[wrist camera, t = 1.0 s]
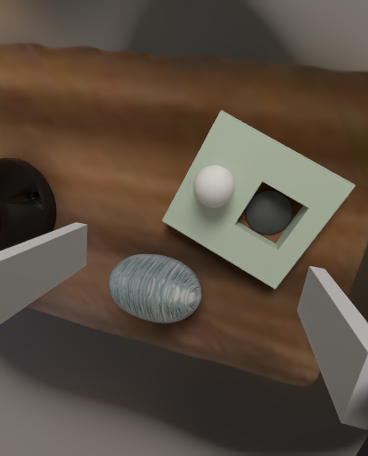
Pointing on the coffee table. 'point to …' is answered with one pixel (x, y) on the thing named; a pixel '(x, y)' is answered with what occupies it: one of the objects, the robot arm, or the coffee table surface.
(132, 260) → the grey streaked egg
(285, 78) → the coffee table surface
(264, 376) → the coffee table surface
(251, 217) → the green board
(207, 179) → the ball
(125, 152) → the coffee table surface
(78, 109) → the coffee table surface
